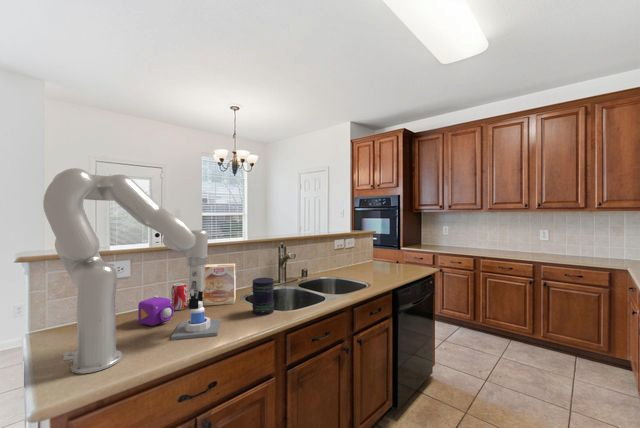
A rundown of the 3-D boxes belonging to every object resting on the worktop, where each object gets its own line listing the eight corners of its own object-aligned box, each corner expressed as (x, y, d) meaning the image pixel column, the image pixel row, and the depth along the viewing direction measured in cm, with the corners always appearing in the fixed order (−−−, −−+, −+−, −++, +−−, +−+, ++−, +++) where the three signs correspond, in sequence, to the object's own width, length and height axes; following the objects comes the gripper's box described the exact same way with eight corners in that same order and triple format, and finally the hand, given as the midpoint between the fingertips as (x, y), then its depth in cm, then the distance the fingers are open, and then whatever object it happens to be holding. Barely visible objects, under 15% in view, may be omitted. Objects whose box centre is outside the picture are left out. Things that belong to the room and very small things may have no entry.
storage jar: (277, 312, 134) (277, 280, 134) (257, 317, 128) (257, 283, 128) (268, 307, 142) (268, 276, 142) (249, 310, 137) (249, 279, 136)
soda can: (183, 311, 136) (183, 285, 136) (168, 311, 136) (168, 285, 136) (190, 306, 143) (190, 282, 143) (176, 306, 143) (176, 282, 143)
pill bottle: (207, 327, 115) (207, 302, 115) (193, 331, 111) (193, 305, 111) (201, 323, 119) (200, 299, 118) (187, 327, 115) (187, 302, 114)
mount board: (171, 340, 106) (170, 330, 106) (180, 325, 120) (180, 316, 120) (217, 335, 110) (217, 325, 110) (220, 321, 123) (220, 313, 123)
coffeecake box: (203, 306, 144) (203, 266, 144) (205, 301, 151) (205, 264, 151) (234, 303, 147) (234, 265, 147) (235, 299, 154) (235, 263, 154)
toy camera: (162, 328, 116) (162, 303, 116) (133, 325, 119) (133, 301, 119) (180, 318, 127) (180, 296, 127) (153, 316, 130) (153, 294, 130)
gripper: (203, 264, 107) (202, 311, 107) (210, 258, 123) (209, 298, 123) (181, 265, 105) (180, 312, 105) (191, 258, 122) (190, 299, 122)
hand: (196, 304), depth 114 cm, fingers open, 9 cm apart
